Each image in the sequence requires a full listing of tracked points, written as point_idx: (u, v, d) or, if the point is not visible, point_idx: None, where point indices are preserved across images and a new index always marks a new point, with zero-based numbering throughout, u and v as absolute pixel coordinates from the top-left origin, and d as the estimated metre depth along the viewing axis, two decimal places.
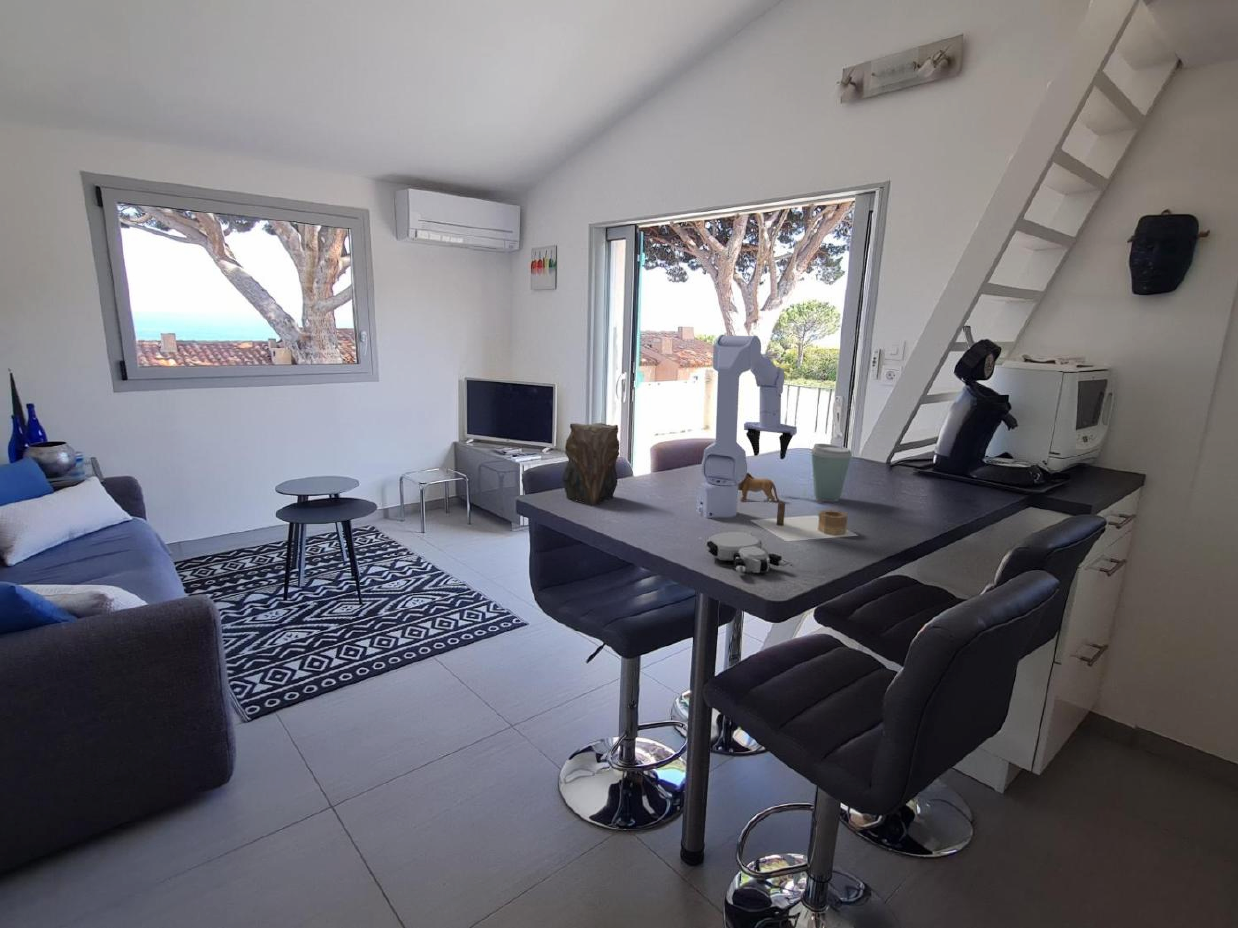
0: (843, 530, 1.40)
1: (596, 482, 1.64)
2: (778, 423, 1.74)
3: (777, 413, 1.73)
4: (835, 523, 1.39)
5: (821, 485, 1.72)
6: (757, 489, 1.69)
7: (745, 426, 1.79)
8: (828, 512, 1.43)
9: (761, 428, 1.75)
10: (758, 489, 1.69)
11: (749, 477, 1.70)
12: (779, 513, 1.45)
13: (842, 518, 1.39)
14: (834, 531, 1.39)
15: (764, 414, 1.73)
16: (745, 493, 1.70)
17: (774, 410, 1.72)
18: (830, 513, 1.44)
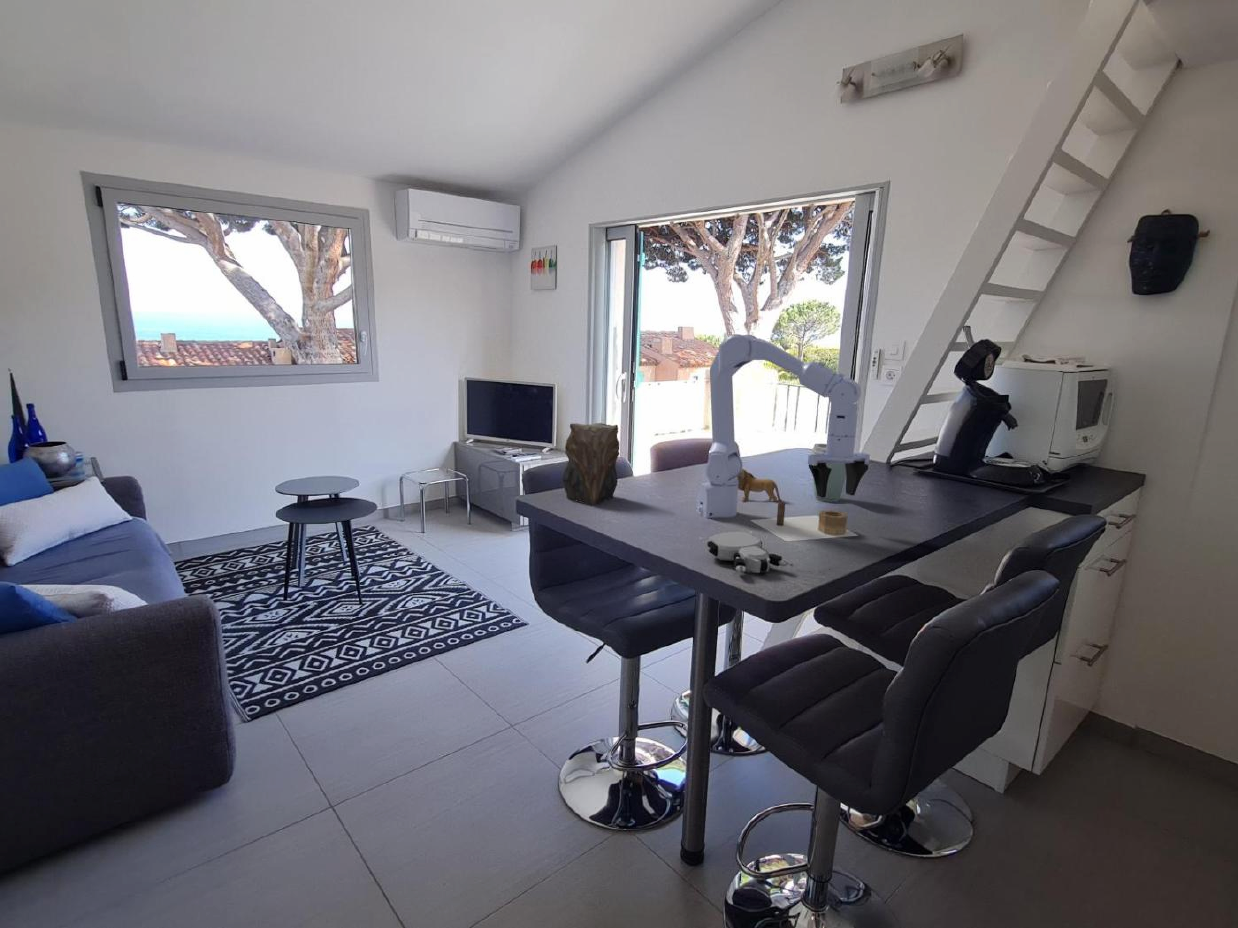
0: (843, 530, 1.40)
1: (596, 482, 1.64)
2: (827, 450, 1.39)
3: (827, 436, 1.39)
4: (835, 523, 1.39)
5: None
6: (759, 490, 1.69)
7: None
8: (828, 512, 1.43)
9: None
10: (760, 489, 1.69)
11: (751, 477, 1.70)
12: (779, 513, 1.45)
13: (842, 518, 1.39)
14: (834, 531, 1.39)
15: None
16: (747, 493, 1.70)
17: (830, 432, 1.37)
18: (830, 513, 1.44)
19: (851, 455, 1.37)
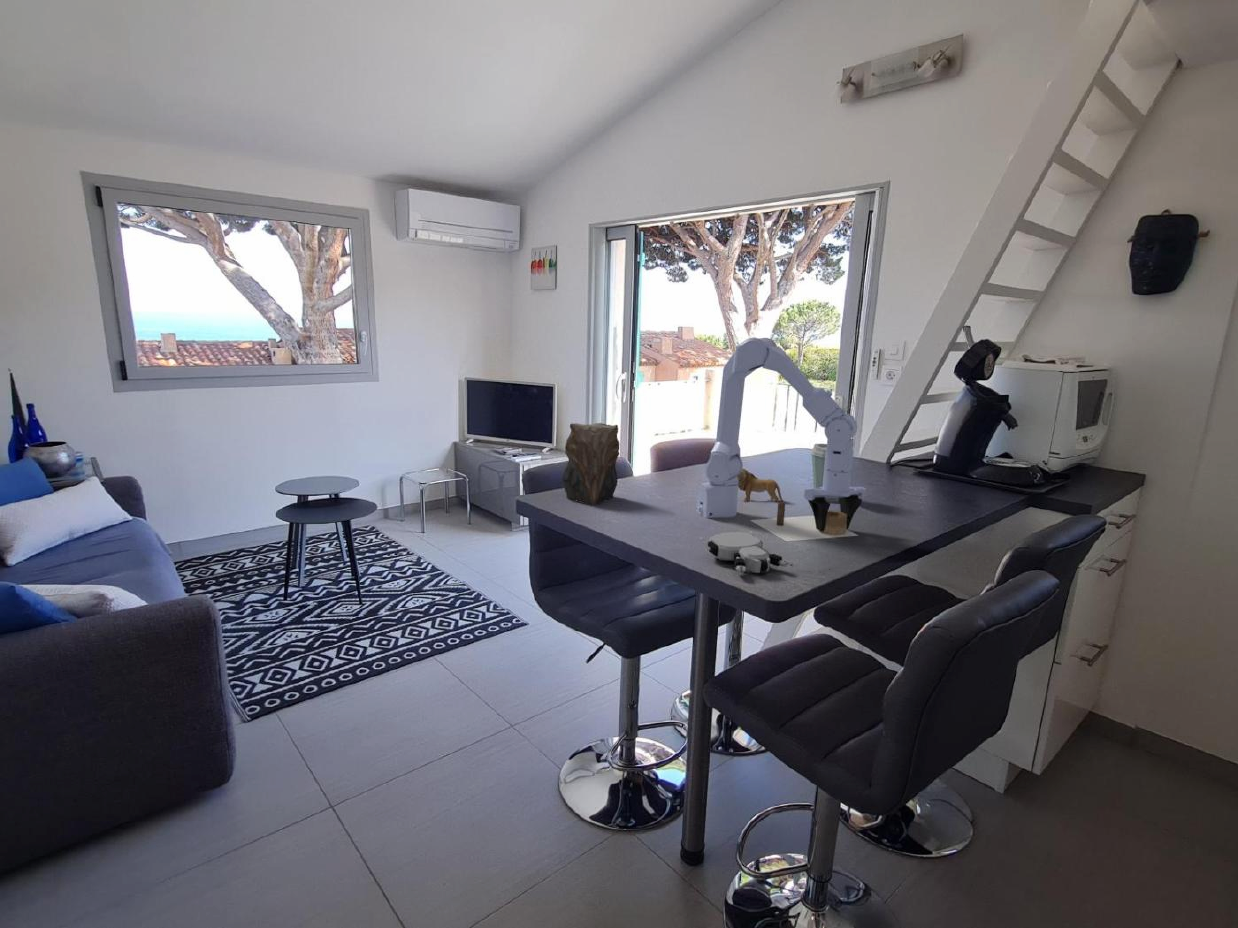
0: (843, 530, 1.40)
1: (596, 482, 1.64)
2: (823, 484, 1.40)
3: (824, 471, 1.40)
4: (835, 523, 1.39)
5: (821, 485, 1.72)
6: (760, 490, 1.69)
7: None
8: (828, 512, 1.43)
9: None
10: (762, 489, 1.69)
11: (753, 477, 1.70)
12: (779, 513, 1.45)
13: (842, 518, 1.39)
14: (834, 531, 1.39)
15: None
16: (749, 494, 1.70)
17: (826, 467, 1.39)
18: (830, 513, 1.44)
19: (847, 490, 1.38)
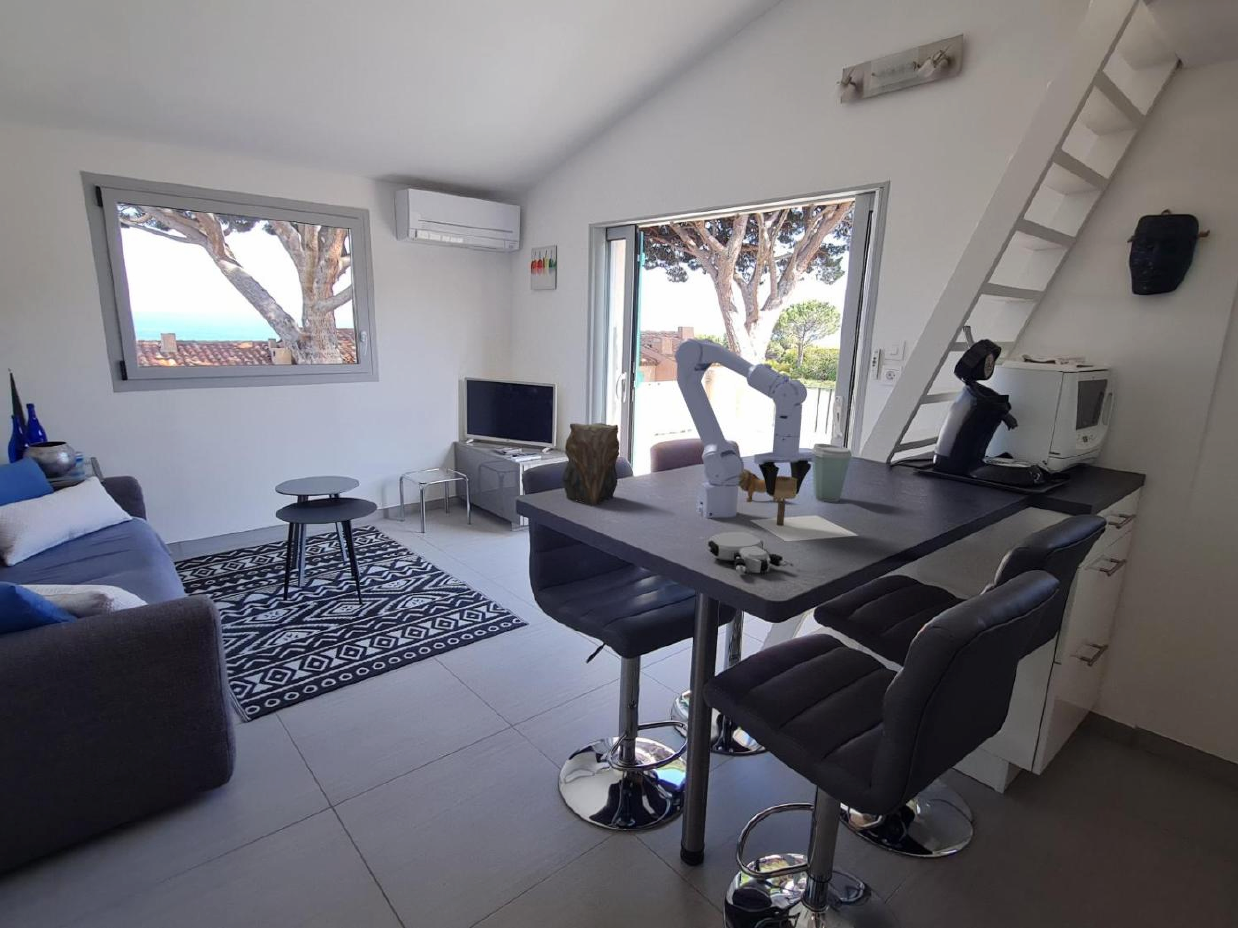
0: (792, 494, 1.42)
1: (596, 482, 1.64)
2: (773, 449, 1.43)
3: None
4: (784, 487, 1.42)
5: (821, 485, 1.72)
6: (763, 490, 1.68)
7: None
8: (779, 477, 1.46)
9: None
10: (764, 490, 1.68)
11: (755, 478, 1.69)
12: (779, 513, 1.45)
13: (791, 482, 1.42)
14: (783, 495, 1.42)
15: None
16: (751, 494, 1.69)
17: (775, 432, 1.42)
18: (781, 478, 1.46)
19: (796, 454, 1.41)
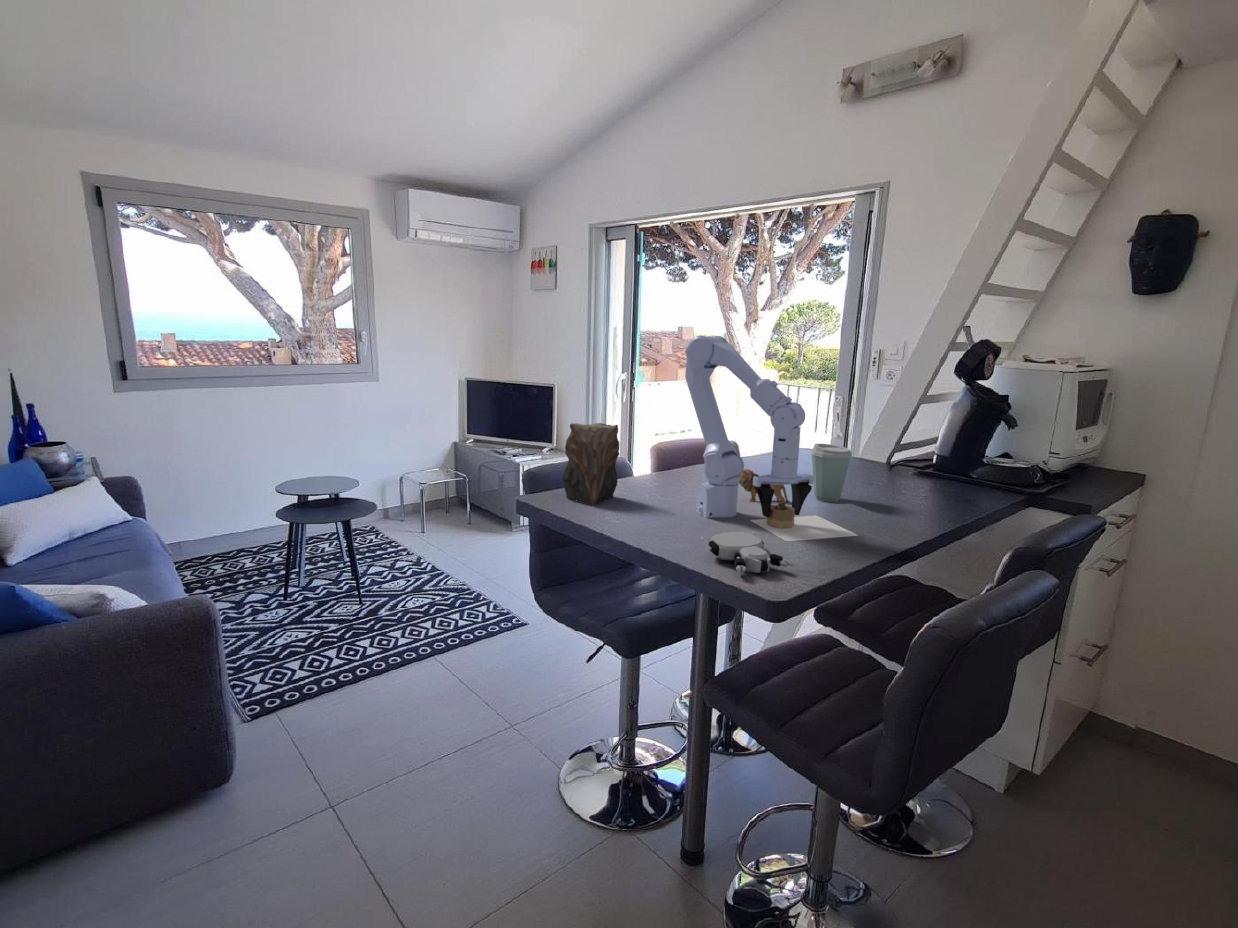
0: (790, 524, 1.44)
1: (596, 482, 1.64)
2: (771, 471, 1.44)
3: (772, 458, 1.44)
4: (782, 517, 1.43)
5: (821, 485, 1.72)
6: None
7: None
8: (777, 506, 1.47)
9: None
10: None
11: None
12: None
13: (789, 512, 1.43)
14: (781, 525, 1.43)
15: None
16: (754, 494, 1.69)
17: (773, 454, 1.43)
18: None
19: (794, 477, 1.42)
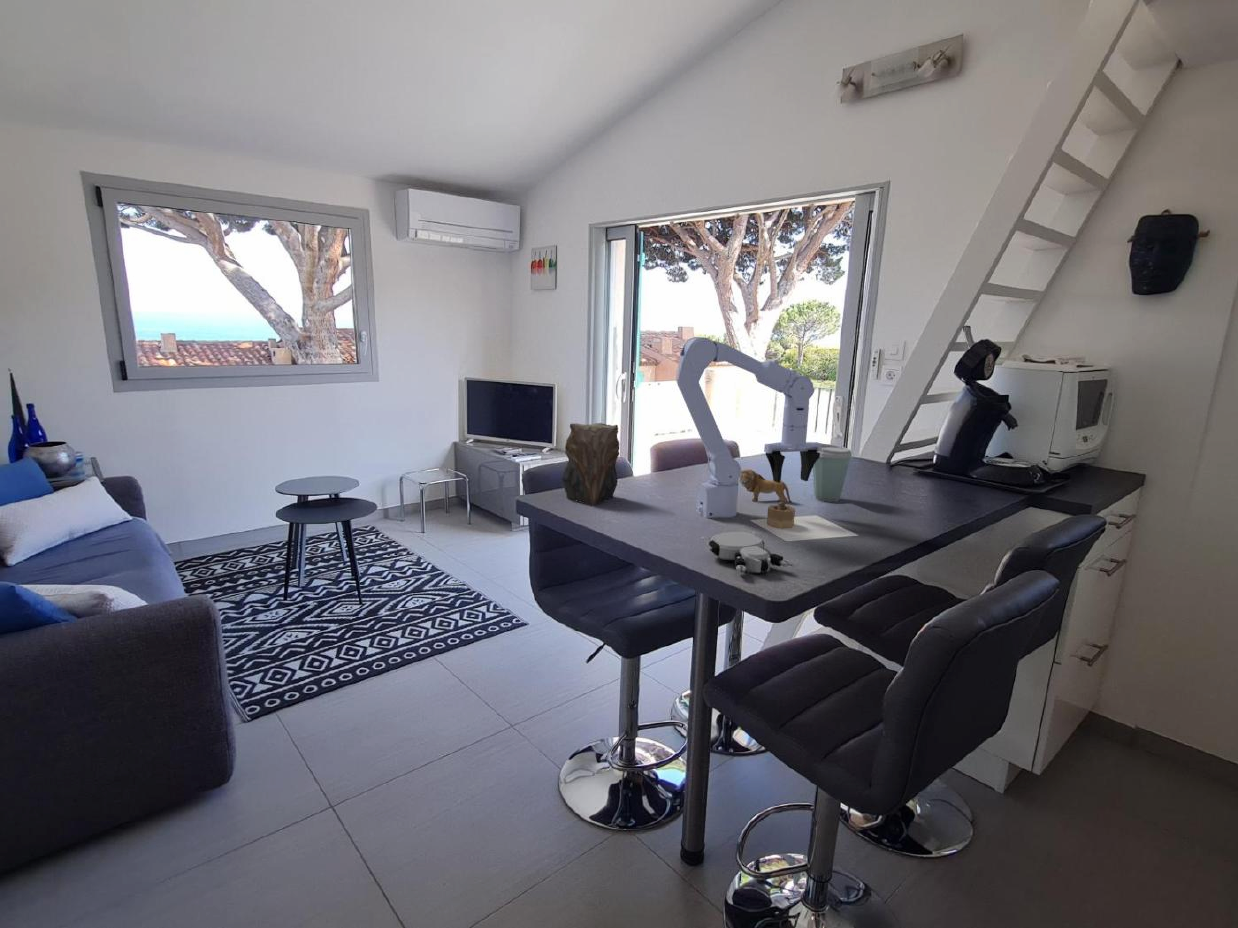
0: (790, 524, 1.44)
1: (596, 482, 1.64)
2: (782, 439, 1.52)
3: (782, 427, 1.52)
4: (782, 517, 1.43)
5: (821, 485, 1.72)
6: (768, 491, 1.68)
7: None
8: (777, 506, 1.47)
9: None
10: (770, 491, 1.68)
11: (760, 479, 1.69)
12: None
13: (789, 512, 1.43)
14: (781, 525, 1.43)
15: None
16: (757, 495, 1.69)
17: (789, 424, 1.49)
18: None
19: (803, 444, 1.50)
